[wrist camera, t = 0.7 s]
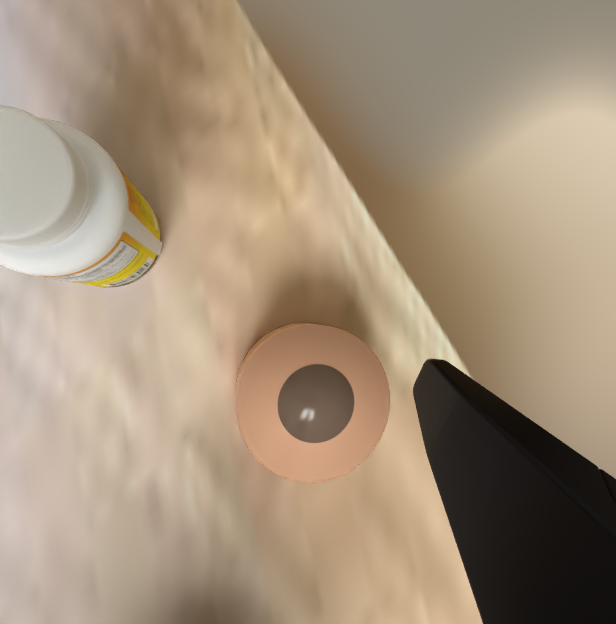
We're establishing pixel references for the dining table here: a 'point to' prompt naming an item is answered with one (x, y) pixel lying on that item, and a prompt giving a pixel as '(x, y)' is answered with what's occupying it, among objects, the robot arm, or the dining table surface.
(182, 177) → the dining table surface
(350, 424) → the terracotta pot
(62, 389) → the dining table surface
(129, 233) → the supplement bottle
